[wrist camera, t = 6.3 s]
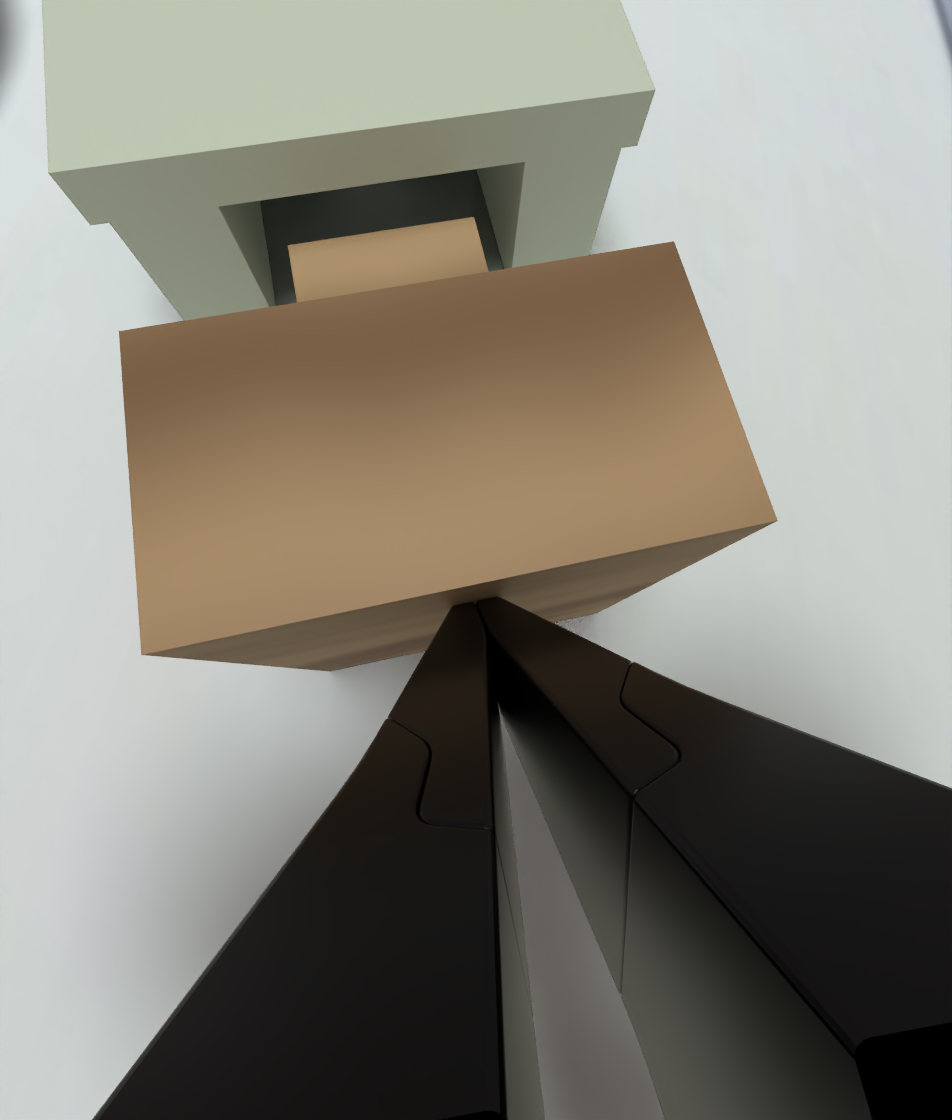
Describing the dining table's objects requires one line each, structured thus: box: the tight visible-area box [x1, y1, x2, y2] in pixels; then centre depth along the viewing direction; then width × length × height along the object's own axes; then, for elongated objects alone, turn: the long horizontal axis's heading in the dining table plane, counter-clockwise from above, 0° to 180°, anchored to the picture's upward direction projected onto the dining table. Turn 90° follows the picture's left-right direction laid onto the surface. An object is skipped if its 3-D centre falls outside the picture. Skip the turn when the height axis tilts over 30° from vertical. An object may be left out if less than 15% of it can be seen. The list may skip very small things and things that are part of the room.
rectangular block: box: [119, 217, 777, 671], centre depth 13 cm, size 13×9×10 cm
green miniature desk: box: [42, 0, 655, 321], centre depth 18 cm, size 9×16×6 cm, turn 102°
